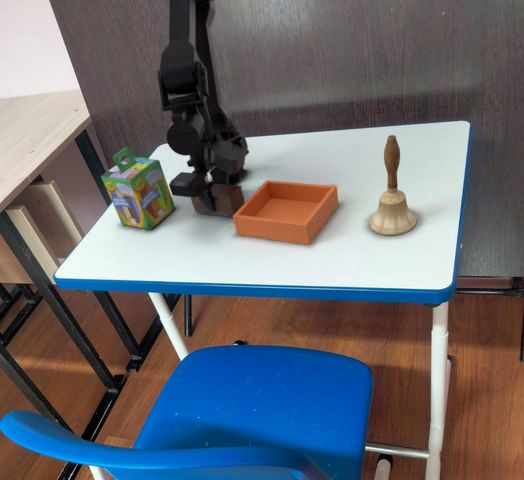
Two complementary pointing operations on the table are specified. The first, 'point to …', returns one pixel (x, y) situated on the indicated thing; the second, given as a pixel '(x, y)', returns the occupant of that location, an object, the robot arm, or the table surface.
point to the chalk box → (138, 190)
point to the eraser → (222, 200)
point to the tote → (287, 211)
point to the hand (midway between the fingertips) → (219, 204)
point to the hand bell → (392, 198)
